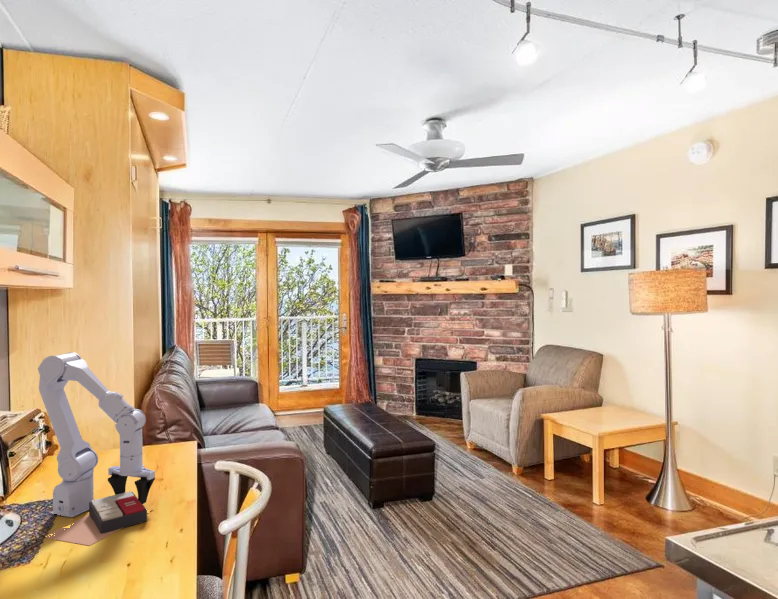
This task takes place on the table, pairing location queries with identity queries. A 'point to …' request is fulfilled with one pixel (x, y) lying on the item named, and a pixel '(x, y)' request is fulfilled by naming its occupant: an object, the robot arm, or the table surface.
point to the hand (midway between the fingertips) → (131, 501)
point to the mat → (81, 532)
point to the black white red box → (117, 512)
